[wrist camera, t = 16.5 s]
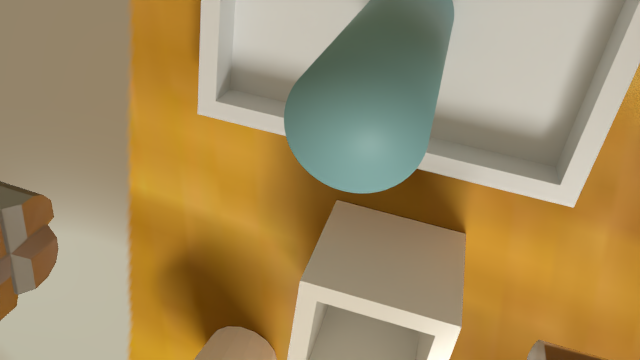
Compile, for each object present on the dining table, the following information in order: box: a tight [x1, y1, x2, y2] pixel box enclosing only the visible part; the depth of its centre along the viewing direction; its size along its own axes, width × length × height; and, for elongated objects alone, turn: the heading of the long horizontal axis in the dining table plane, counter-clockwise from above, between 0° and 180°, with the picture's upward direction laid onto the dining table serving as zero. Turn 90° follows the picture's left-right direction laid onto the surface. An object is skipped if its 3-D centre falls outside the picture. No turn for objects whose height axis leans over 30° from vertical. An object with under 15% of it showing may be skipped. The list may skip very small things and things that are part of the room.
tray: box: [198, 0, 640, 208], centre depth 26 cm, size 20×14×3 cm
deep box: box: [287, 200, 466, 360], centre depth 32 cm, size 8×8×8 cm
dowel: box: [284, 0, 454, 193], centre depth 21 cm, size 4×4×14 cm
